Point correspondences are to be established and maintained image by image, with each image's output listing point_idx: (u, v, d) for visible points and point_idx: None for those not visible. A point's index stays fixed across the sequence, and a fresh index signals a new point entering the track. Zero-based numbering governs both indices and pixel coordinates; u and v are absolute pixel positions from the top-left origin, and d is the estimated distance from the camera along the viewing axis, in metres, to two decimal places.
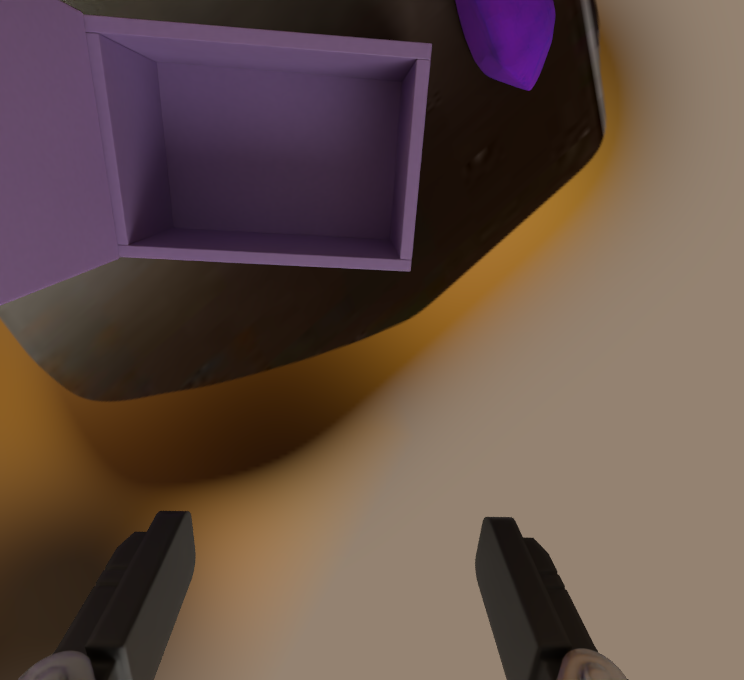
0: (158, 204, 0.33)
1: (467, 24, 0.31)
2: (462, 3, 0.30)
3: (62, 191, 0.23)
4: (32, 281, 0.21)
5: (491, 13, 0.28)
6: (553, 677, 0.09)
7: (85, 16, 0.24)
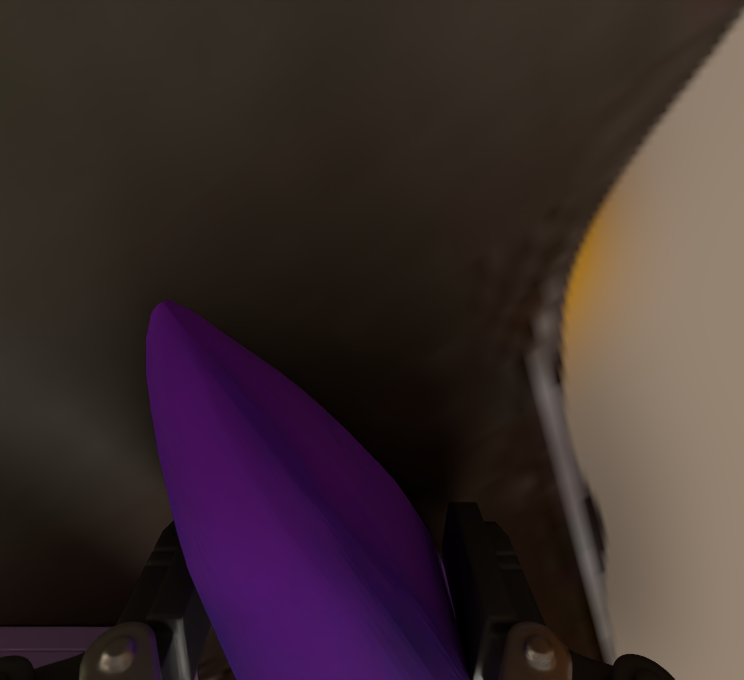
0: None
1: None
2: None
3: None
4: None
5: None
6: (500, 649, 0.09)
7: None
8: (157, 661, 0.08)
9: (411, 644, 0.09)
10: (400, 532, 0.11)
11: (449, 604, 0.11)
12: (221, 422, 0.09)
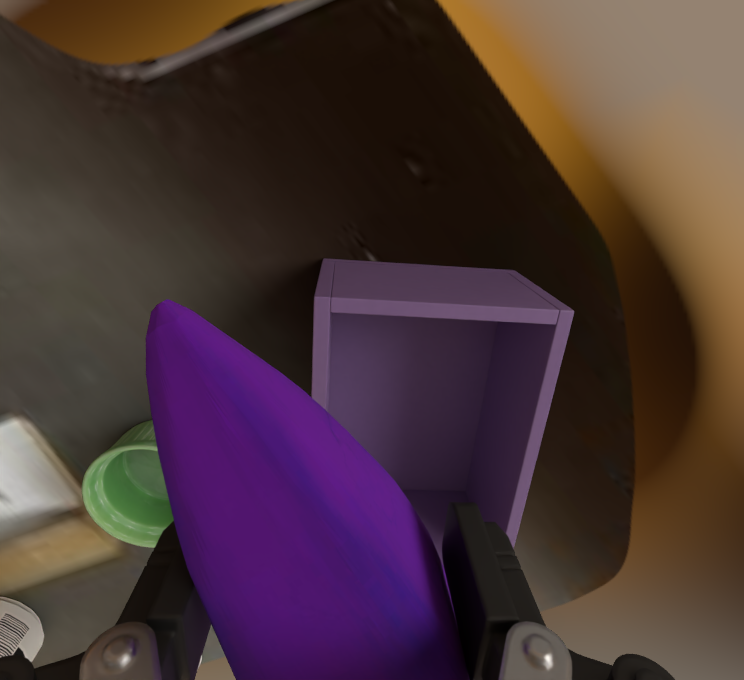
0: None
1: None
2: None
3: None
4: None
5: None
6: (500, 649, 0.09)
7: None
8: (157, 661, 0.08)
9: (410, 643, 0.09)
10: (400, 532, 0.11)
11: (448, 603, 0.11)
12: (221, 422, 0.09)
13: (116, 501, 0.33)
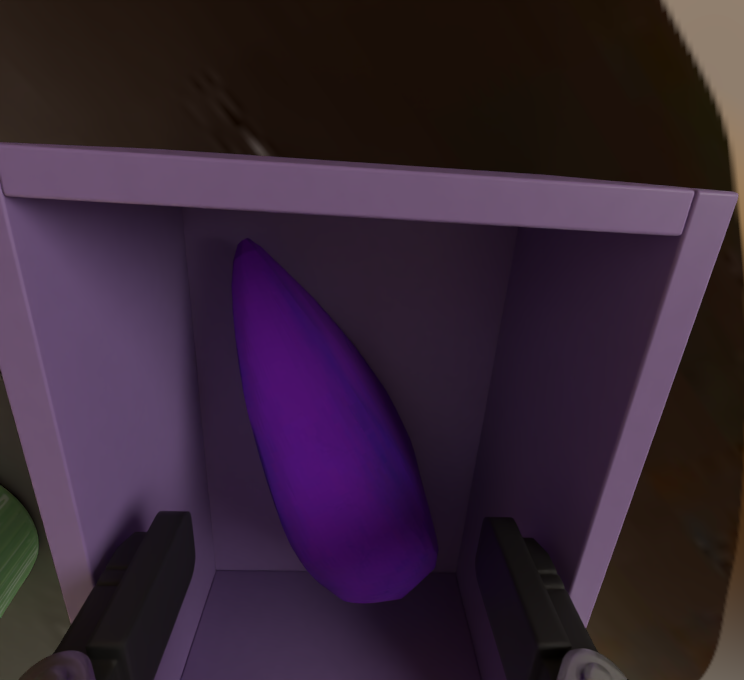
0: (422, 620, 0.19)
1: None
2: None
3: None
4: None
5: (312, 555, 0.15)
6: (553, 677, 0.09)
7: None
8: None
9: (392, 475, 0.14)
10: (389, 415, 0.16)
11: (419, 473, 0.16)
12: (281, 317, 0.13)
13: None
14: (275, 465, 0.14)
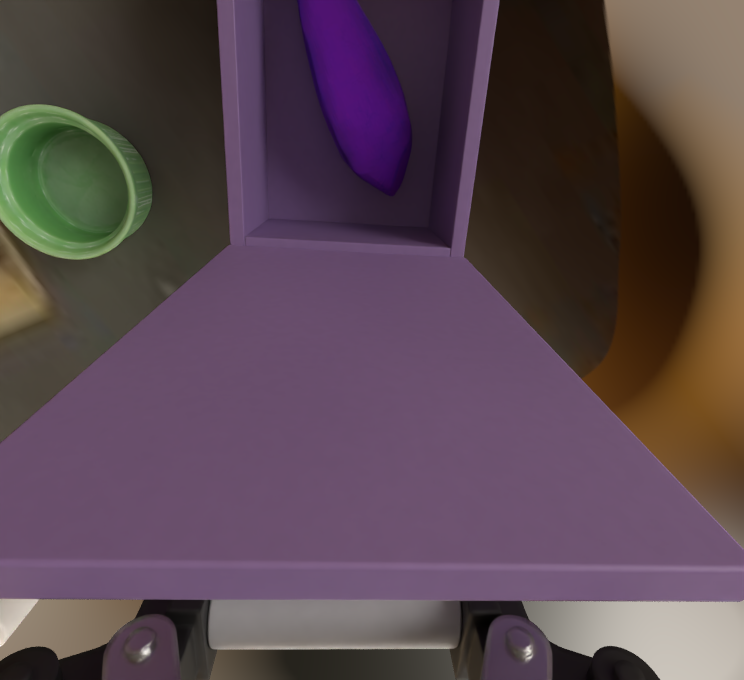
0: (405, 231, 0.30)
1: None
2: None
3: (396, 275, 0.21)
4: (498, 304, 0.18)
5: (338, 118, 0.25)
6: (483, 641, 0.09)
7: None
8: (178, 653, 0.08)
9: (384, 63, 0.25)
10: None
11: None
12: None
13: (27, 209, 0.29)
14: (318, 57, 0.25)
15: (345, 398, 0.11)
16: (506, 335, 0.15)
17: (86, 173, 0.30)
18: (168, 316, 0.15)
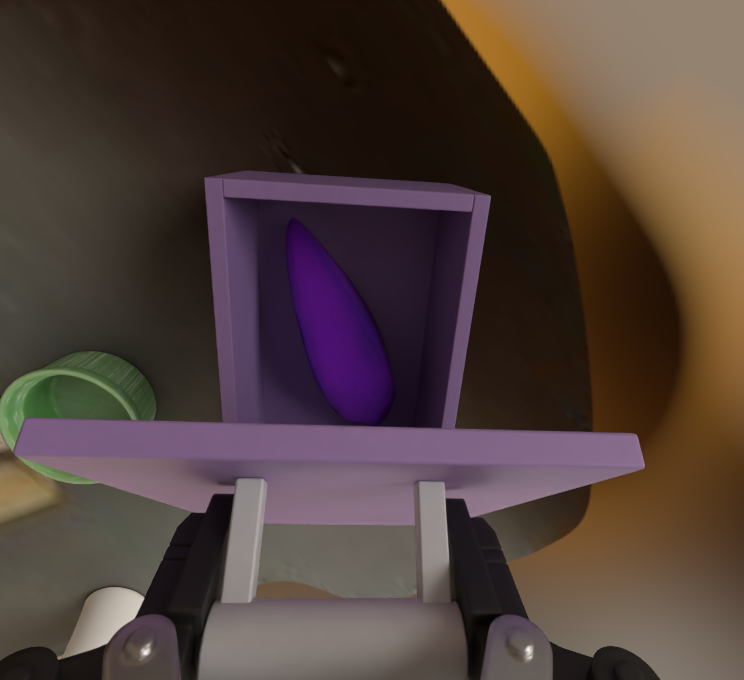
0: None
1: None
2: None
3: None
4: None
5: (327, 385, 0.28)
6: (483, 641, 0.09)
7: None
8: (178, 653, 0.08)
9: (368, 340, 0.27)
10: (368, 314, 0.29)
11: (385, 348, 0.29)
12: (312, 257, 0.27)
13: None
14: (308, 334, 0.27)
15: None
16: None
17: (95, 394, 0.33)
18: None
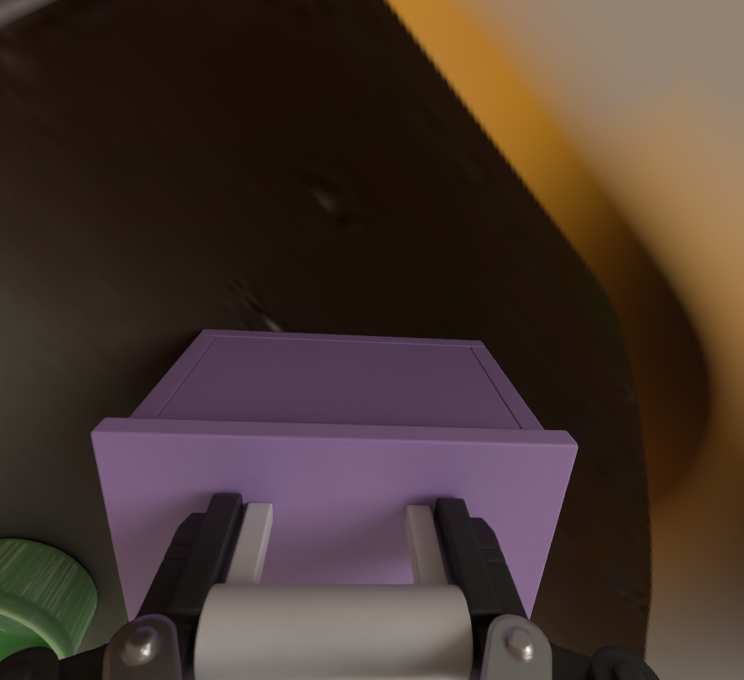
0: None
1: None
2: None
3: None
4: None
5: None
6: (483, 641, 0.09)
7: None
8: (179, 652, 0.08)
9: None
10: None
11: None
12: None
13: None
14: None
15: None
16: None
17: None
18: None
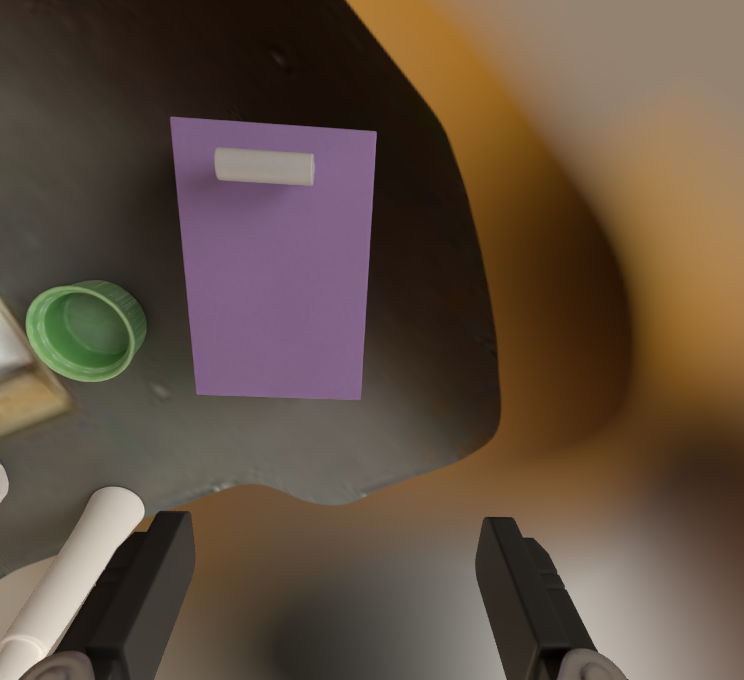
0: None
1: None
2: None
3: None
4: None
5: None
6: (553, 677, 0.09)
7: None
8: None
9: None
10: None
11: None
12: None
13: (57, 345, 0.41)
14: None
15: None
16: None
17: (98, 315, 0.42)
18: None
